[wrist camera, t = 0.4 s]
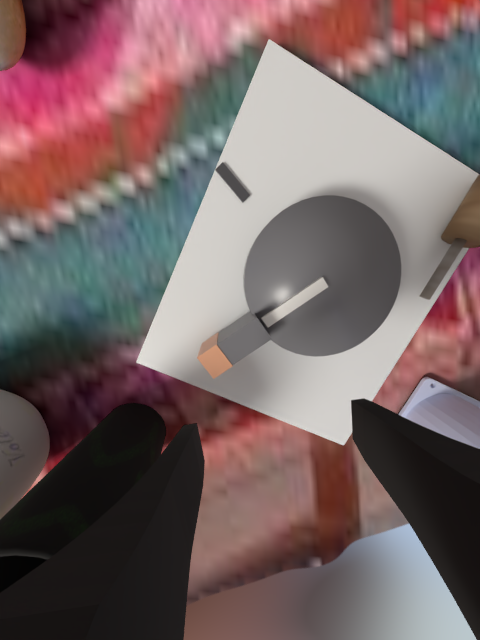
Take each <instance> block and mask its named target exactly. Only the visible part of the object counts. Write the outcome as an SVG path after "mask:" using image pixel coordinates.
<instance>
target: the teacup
mask: <svg viewBox="0 0 480 640" xmlns="http://www.w3.org/2000/svg"><path fill="white" fill-rule="evenodd" d="M49 450H50V438H49V433H48V429H47V427H46V424H45V422H44V420H43V418H42V416H41V414H40V413H39V411H38V410H37V409H36V408H35V407H34V406H33V405H32V404H31V403H30V402H28V401H27V400H25V399H24V398H22V397H20V396H18V395H16V394H13V393H10V392H7V391H4V390H1V389H0V519H1V518H2V517H3V516H4V515H5V514H6V513H7V512H8V511H9V510H11V509H12V508H13V507H14V506H15V505H16V504H17V503H18V501H19V500H20V499H21V498H22V497H23V495H24V494H25V493H26V492H27V490H28V489H29V488H30V487H31V485H32V484H33V483H34V481H35V480H36V479H37V477H38V476H39V474H40V473H41V471H42V469H43V467H44V465H45V463H46V461H47V458H48V454H49Z"/></svg>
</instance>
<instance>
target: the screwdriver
mask: <svg viewBox="0 0 480 640" xmlns="http://www.w3.org/2000/svg"><path fill="white" fill-rule="evenodd" d="M441 239H442V240H443V241H445V242H446V243H448V244H451V246H450V247H449V249H448V251H447V252H446V254H445V256H444V257H443V259H442V260H441V262H440V264H439V265H438V267H437V268H436V270H435V272H434V273H433V275H432V276H431V278H430V280H429V281H428V283H427V285H426V286H425V288H424V289H423V291H422V293H421V294H420V297H422V298H424V299H428V300H430V299H431V297H432V295H433V294H434V292H435V291H436V289H437V288H438V286H439V284H440V283H441V281H442V280H443V278H444V276H445V275H446V273H447V272H448V270H449V269H450V267H451V265H452V264H453V262H454V261H455V259H456V257H457V256H458V254H459V253H460V251H461V250H462V248H476V247H479V246H480V175H478V176H477V178H476V179H475V181H474V183H473V184H472V186H471V188H470V189H469V191H468V193H467V194H466V196H465V198H464V199H463V201H462V202H461V204H460V206H459V207H458V209H457V211H456V212H455V214H454V216H453V217H452V219H451V221H450V222H449V224H448V225H447V227H446V229H445V230H444V232H443V234H442V235H441Z"/></svg>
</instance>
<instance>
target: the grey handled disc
mask: <svg viewBox="0 0 480 640" xmlns="http://www.w3.org/2000/svg"><path fill="white" fill-rule="evenodd" d="M400 281H401V258H400V252H399V248H398V244H397V242H396V240H395V237H394V235H393V233H392V231H391V230H390V228H389V226H388V225H387V224H386V222H385V221H384V220H383V219H382V217H380V216H379V215H378V214H377V213H376V212H375V211H374V210H372V209H371V208H369V207H368V206H367V205H365V204H363V203H361V202H359V201H357V200H354V199H350V198H347V197H342V196H335V195H323V196H317V197H311V198H308V199H304V200H301V201H299V202H297V203H295V204H292V205H291V206H289V207H287V208H286V209H284V210H283V211H281V212H280V213H279V214H278V215H276V216H275V217H274V218H273V219H272V220H271V221H270V222H269V223H268V224H267V225H266V226H265V227H264V228H263V230H262V231H261V232H260V234H259V235H258V236H257V238H256V239H255V241H254V243H253V245H252V246H251V248H250V251H249V253H248V256H247V259H246V263H245V267H244V275H243V287H244V294H245V299H246V302H247V305H248V308H249V310H250V312H248V313H247V314H245V315H244V316H242V317H241V318H239V319H238V320H236V321H235V322H234V323H232V324H231V325H229V326H228V327H226V328H225V329H223V330H222V331H220V332H218V333H216V334H215V335H213V336H212V337H210V338H209V339H207V340H206V341H205V342H203V343H202V345H201V347H200V350H199V353H198V356H197V359H198V360H199V361H200V362H201V364H202V365H203V366H204V368H205V369H206V370H207V371H208V373H209V374H210V375H211V376H212V378H213V379H215V378H216V377H218V376H219V375H221V374H222V373H224V372H225V371H227V370H228V369H230V368H231V367H233V365H234V364H235V363H237V362H238V361H240V360H241V359H243V358H244V357H246V356H247V355H249V354H250V353H252V352H253V351H255V350H256V349H258V348H259V347H261V346H262V345H264V344H265V343H267V342H268V341H270V340H271V341H273V342H274V343H276V344H277V345H278V346H280V347H282V348H284V349H286V350H288V351H290V352H293V353H296V354H300V355H305V356H314V357H316V356H329V355H334V354H338V353H342V352H344V351H347V350H349V349H352V348H353V347H355V346H357V345H359V344H361V343H362V342H363V341H365V340H366V339H367V338H369V337H370V336H371V335H372V334H373V333H374V332H375V331H376V330H377V329H378V328H379V327H380V326H381V325H382V323H383V322H384V321H385V319H386V318H387V316H388V315H389V313H390V311H391V309H392V307H393V306H394V303H395V300H396V298H397V295H398V291H399V287H400Z"/></svg>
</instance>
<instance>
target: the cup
mask: <svg viewBox="0 0 480 640" xmlns="http://www.w3.org/2000/svg"><path fill="white" fill-rule="evenodd" d="M165 435H166V427H165V424H164V421H163V419H162V417H161V416H160V415H159V414H158V413H157V412H156V411H155V410H154V409H152V408H150V407H148V406H146V405H143V404H137V403H130V404H125V405H121V406H119V407H117V408H116V409H114V410H113V411H112V412H111V413H110V414H109V415H108V416H107V417H106V418H105V419H104V420H103V421H102V422H101V423H99V424H98V425H97V426H96V427H95V428H94V429H93V430H92V431H91V432H90V433H89V434H88V435H87V436H86V437H85V438H84V439H83V440H82V441H81V442H80V443H79V444H78V445H77V446H76V447H75V448H74V449H73V450H72V451H71V452H69V453H68V454H67V455H66V456H65V457H64V458H63V459H62V460H61V461H60V462H59V463H58V464H57V465H56V466H55V467H54V468H53V469H52V470H51V471H50V472H49V473H48V474H47V475H46V476H45V477H44V478H43V479H42V480H41V481H39V482H38V483H37V484H36V485H35V486H34V487H33V488H32V489H31V490H30V491H29V492H28V493H27V494H26V495H25V496H24V497H23V498H22V499H21V500H20V501H19V502H18V503H17V504H16V505H15V506H14V507H13V508H12V509H11V510H9V511H8V512H7V513H6V514H5V515H4V516H3V517H2V518H1V519H0V593H1V592H2V591H4V590H5V589H7V588H8V587H10V586H11V585H12V584H14V583H15V582H17V581H18V580H20V579H21V578H22V577H24V576H25V575H27V574H28V573H30V572H31V571H32V570H34V569H35V568H37V567H38V566H39V565H41V564H42V563H44V562H45V561H46V560H48V559H49V558H51V557H52V556H53V555H55V554H56V553H57V552H58V551H60V550H61V549H62V548H64V547H65V546H66V545H68V544H69V543H70V542H71V541H73V540H74V539H75V538H76V537H78V536H79V535H80V534H81V533H83V532H84V531H85V530H86V529H88V528H89V527H90V526H91V525H92V524H93V523H94V522H96V521H97V520H98V519H99V518H100V517H101V516H102V515H104V514H105V513H106V512H107V511H108V510H109V509H110V508H111V507H113V506H114V505H115V504H116V503H117V502H118V501H119V500H120V499H121V498H122V497H123V496H124V495H125V494H126V493H127V492H128V491H129V490H130V489H131V488H132V487H133V486H134V485H135V484H136V483H137V482H138V481H139V480H140V479H141V478H142V476H143V475H144V474H145V473H146V472H147V471H148V469H149V468H150V467H151V466H152V465H153V464H154V463H155V461H156V460H157V459H158V458H159V456H160V455H161V451H162V447H163V443H164V439H165Z"/></svg>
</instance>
